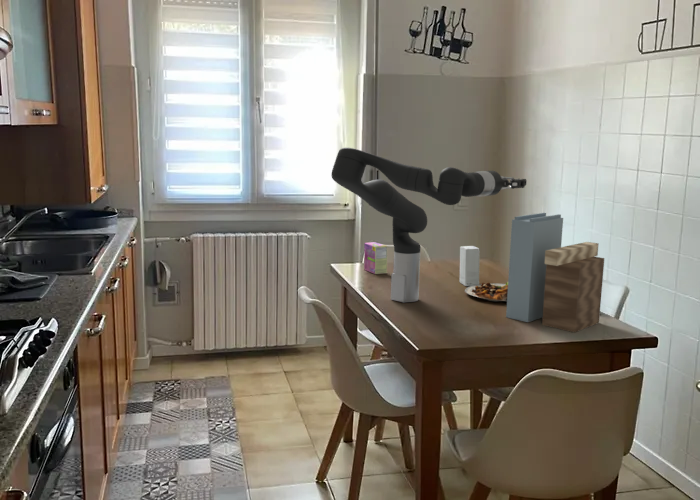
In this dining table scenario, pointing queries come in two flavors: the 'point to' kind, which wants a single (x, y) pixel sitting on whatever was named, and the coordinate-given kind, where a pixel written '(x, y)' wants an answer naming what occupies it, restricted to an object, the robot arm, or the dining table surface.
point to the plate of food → (489, 291)
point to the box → (375, 258)
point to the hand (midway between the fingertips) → (513, 181)
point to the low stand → (573, 294)
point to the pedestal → (530, 263)
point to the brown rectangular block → (571, 253)
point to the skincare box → (469, 265)
